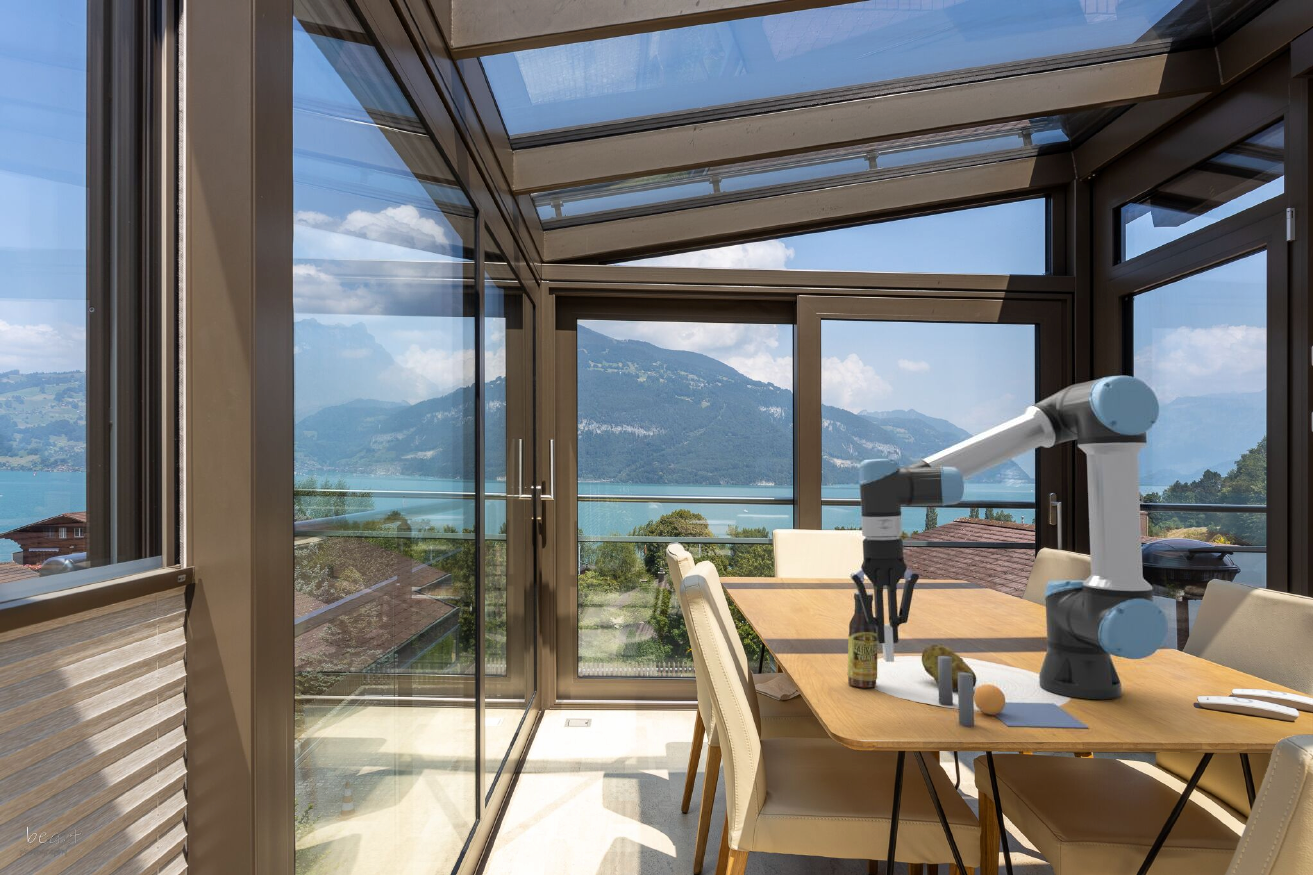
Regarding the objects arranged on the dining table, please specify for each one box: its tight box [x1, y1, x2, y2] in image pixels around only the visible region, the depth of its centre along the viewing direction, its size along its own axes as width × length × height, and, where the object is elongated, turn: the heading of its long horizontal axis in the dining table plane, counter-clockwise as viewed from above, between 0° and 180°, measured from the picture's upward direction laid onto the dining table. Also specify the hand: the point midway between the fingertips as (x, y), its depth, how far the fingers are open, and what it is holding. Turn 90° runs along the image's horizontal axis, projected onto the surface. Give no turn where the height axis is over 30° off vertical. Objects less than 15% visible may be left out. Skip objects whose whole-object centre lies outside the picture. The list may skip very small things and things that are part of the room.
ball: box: [973, 683, 1006, 716], centre depth 140 cm, size 6×6×6 cm
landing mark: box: [994, 701, 1089, 729], centre depth 140 cm, size 14×14×1 cm
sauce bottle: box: [847, 591, 879, 689], centre depth 160 cm, size 6×6×20 cm
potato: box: [921, 644, 977, 691], centre depth 159 cm, size 8×13×8 cm, turn 3°
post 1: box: [937, 656, 954, 706], centre depth 147 cm, size 3×3×9 cm
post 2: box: [957, 672, 975, 728], centre depth 135 cm, size 3×3×9 cm
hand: (888, 659), depth 142 cm, fingers closed
